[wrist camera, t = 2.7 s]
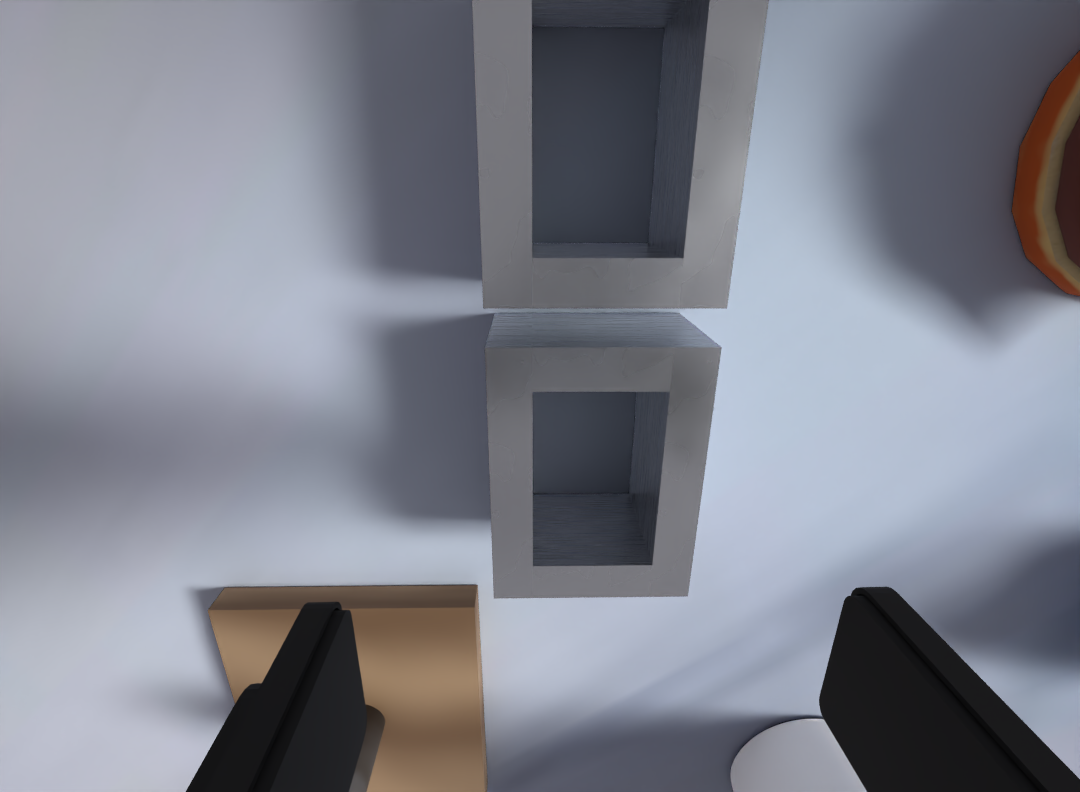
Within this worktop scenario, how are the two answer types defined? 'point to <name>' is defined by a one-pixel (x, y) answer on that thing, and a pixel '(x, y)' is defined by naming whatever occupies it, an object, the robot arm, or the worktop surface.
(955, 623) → the worktop surface
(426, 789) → the keeper
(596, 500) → the link
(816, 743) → the cup
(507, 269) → the grey hollow block
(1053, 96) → the hamburger
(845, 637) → the robot arm
